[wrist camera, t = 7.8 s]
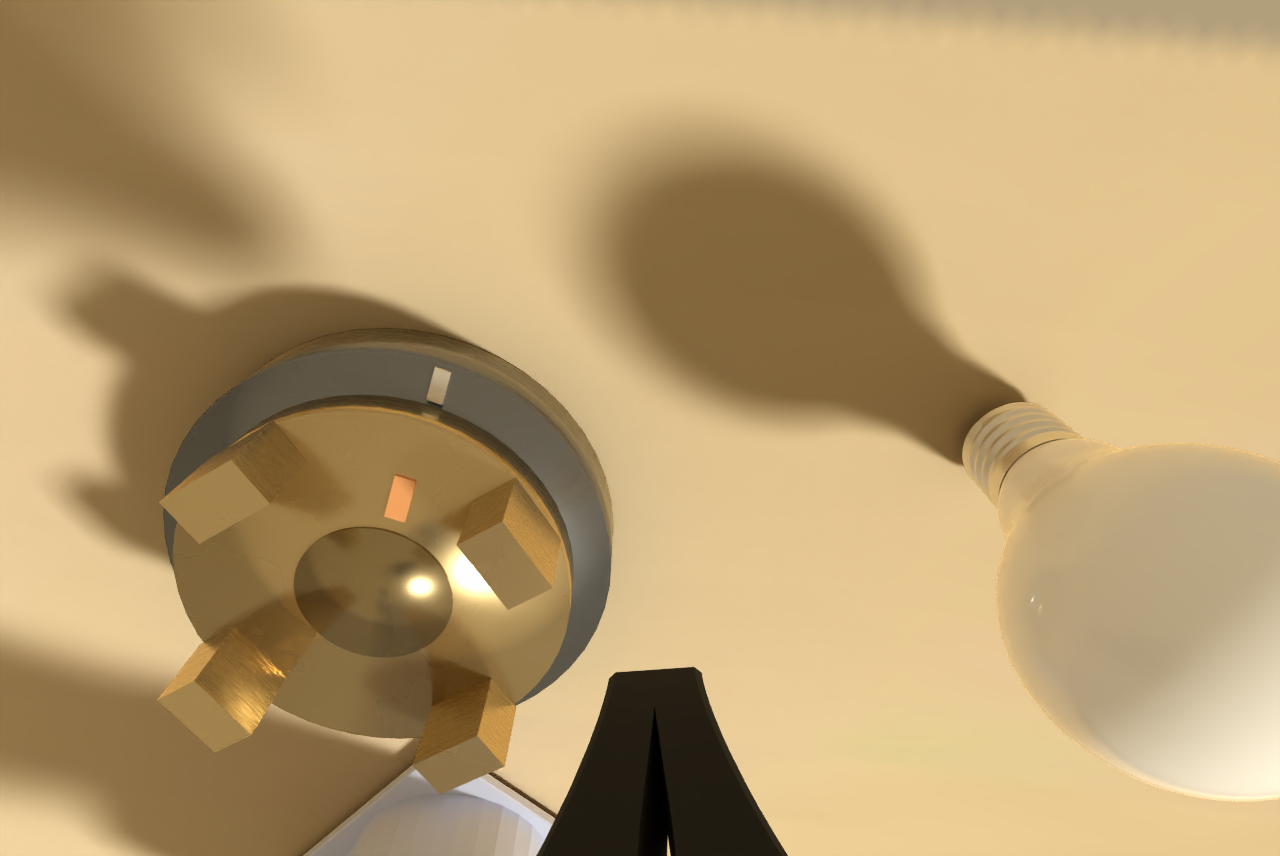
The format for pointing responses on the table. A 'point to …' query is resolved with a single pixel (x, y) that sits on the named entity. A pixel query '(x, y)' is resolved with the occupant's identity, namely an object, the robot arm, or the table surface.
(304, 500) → the brass lugged disc
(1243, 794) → the lightbulb
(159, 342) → the table surface
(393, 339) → the cap base
